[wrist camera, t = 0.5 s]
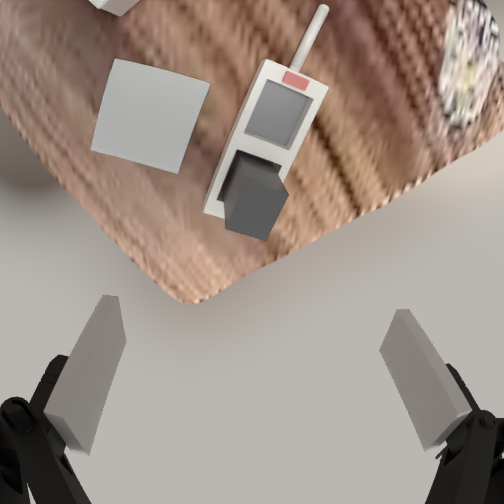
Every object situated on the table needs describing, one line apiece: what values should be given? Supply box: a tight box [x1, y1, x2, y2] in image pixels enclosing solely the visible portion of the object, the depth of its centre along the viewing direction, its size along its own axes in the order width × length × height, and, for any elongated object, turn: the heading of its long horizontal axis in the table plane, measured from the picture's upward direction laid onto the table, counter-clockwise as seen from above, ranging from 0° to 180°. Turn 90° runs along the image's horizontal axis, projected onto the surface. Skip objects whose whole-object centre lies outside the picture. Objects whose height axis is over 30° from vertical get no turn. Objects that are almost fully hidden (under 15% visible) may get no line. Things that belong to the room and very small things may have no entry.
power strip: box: [203, 4, 329, 219], centre depth 30 cm, size 27×7×4 cm, turn 158°
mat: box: [91, 58, 211, 174], centre depth 30 cm, size 11×11×1 cm
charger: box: [223, 150, 289, 241], centre depth 32 cm, size 5×4×10 cm
